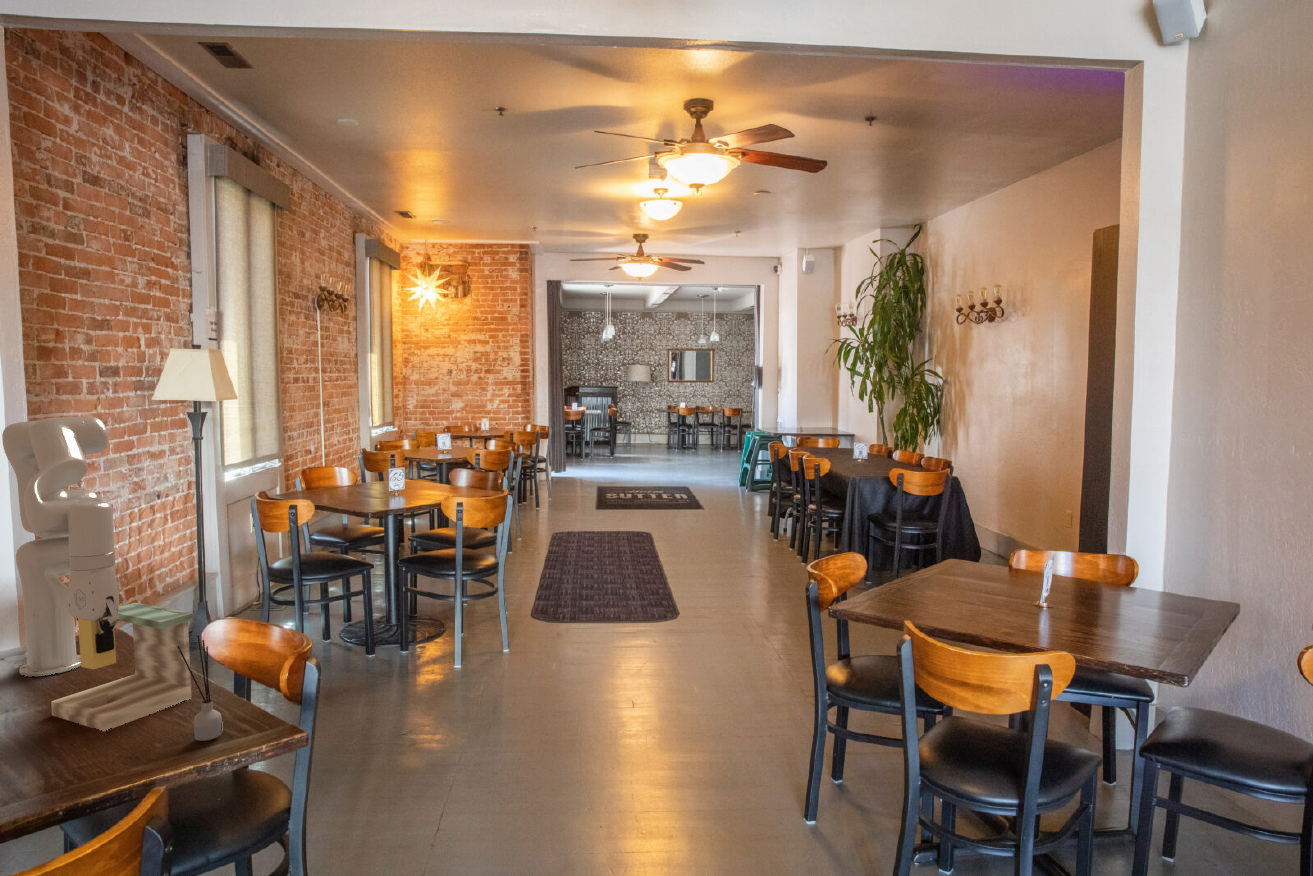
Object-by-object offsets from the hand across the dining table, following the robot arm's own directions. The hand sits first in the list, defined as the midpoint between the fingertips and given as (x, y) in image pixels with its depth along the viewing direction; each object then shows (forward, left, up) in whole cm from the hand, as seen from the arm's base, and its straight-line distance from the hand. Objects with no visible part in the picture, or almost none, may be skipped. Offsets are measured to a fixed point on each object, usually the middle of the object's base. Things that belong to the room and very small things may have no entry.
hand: (97, 648), depth 164 cm
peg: (0, 0, -3) cm, 3 cm away
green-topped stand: (0, +5, -14) cm, 15 cm away
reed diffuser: (+30, +2, -14) cm, 33 cm away
